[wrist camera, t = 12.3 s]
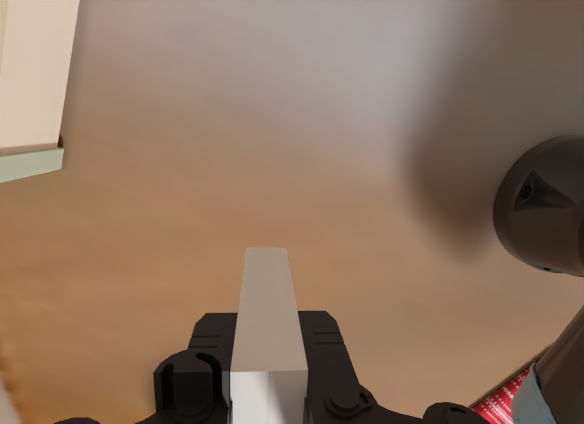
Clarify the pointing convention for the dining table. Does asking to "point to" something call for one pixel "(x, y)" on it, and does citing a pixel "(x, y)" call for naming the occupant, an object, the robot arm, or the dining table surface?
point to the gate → (33, 83)
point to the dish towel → (501, 402)
